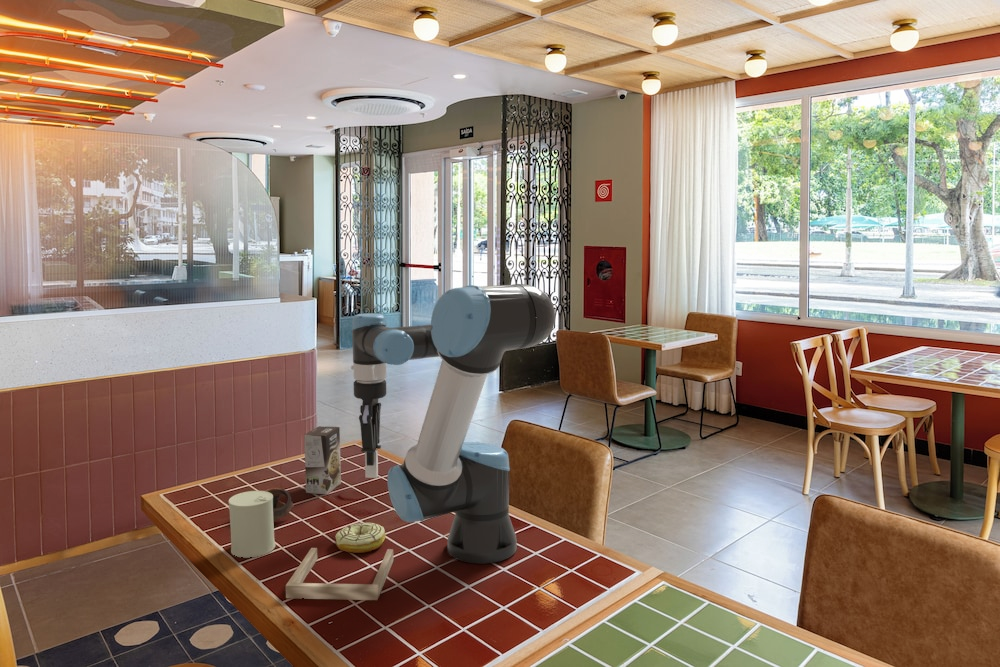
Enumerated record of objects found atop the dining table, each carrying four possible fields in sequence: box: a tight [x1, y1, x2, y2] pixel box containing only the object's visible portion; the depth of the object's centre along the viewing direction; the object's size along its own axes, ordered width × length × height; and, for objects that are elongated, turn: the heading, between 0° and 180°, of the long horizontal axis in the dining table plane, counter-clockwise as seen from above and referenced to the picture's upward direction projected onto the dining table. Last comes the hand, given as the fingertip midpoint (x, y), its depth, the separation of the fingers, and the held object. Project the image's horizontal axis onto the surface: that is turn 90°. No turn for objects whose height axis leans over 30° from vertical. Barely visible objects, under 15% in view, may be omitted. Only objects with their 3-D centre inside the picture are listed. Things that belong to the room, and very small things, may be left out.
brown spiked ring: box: [264, 487, 295, 522], centre depth 170 cm, size 12×10×8 cm
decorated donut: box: [335, 522, 386, 554], centre depth 156 cm, size 10×11×4 cm
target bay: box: [284, 547, 395, 601], centre depth 140 cm, size 17×16×2 cm
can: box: [228, 490, 276, 559], centre depth 153 cm, size 9×9×12 cm
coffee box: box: [303, 425, 342, 495], centre depth 189 cm, size 9×6×16 cm
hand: (371, 476), depth 168 cm, fingers closed
